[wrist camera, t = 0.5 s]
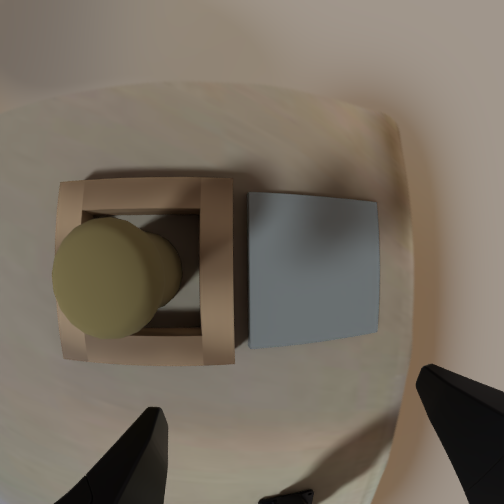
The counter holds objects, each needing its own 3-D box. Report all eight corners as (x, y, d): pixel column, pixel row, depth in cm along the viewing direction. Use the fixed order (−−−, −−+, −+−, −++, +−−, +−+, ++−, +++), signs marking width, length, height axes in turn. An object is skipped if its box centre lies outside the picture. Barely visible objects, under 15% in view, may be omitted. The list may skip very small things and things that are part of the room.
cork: (92, 275, 19) (11, 286, 8) (139, 215, 20) (91, 168, 9) (150, 327, 19) (113, 388, 9) (198, 266, 20) (206, 272, 10)
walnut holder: (229, 353, 21) (234, 363, 18) (75, 349, 18) (63, 358, 15) (228, 187, 21) (232, 178, 19) (72, 190, 18) (60, 182, 16)
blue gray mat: (372, 330, 24) (377, 331, 23) (248, 346, 21) (250, 349, 20) (371, 203, 24) (376, 202, 23) (247, 194, 21) (249, 191, 21)
